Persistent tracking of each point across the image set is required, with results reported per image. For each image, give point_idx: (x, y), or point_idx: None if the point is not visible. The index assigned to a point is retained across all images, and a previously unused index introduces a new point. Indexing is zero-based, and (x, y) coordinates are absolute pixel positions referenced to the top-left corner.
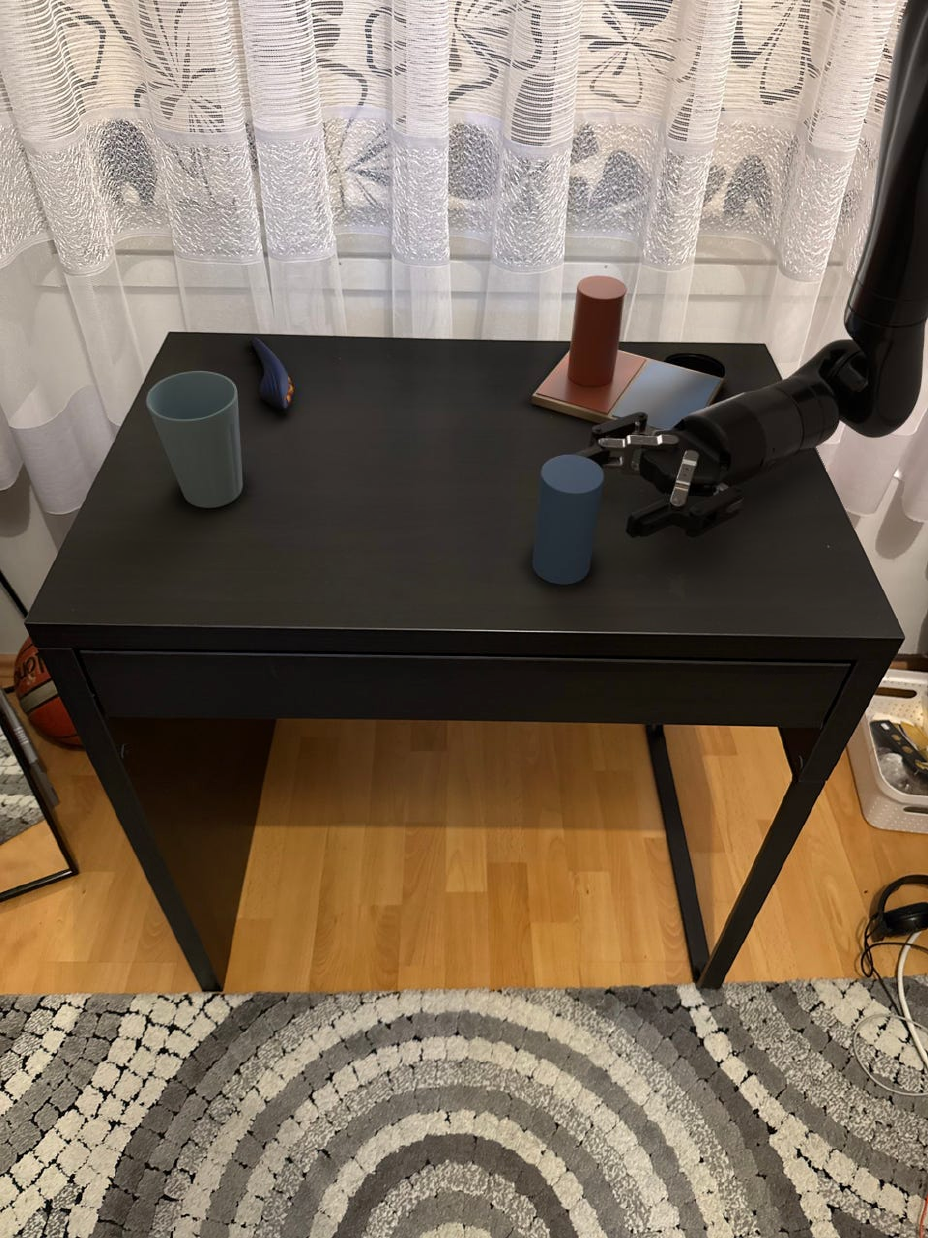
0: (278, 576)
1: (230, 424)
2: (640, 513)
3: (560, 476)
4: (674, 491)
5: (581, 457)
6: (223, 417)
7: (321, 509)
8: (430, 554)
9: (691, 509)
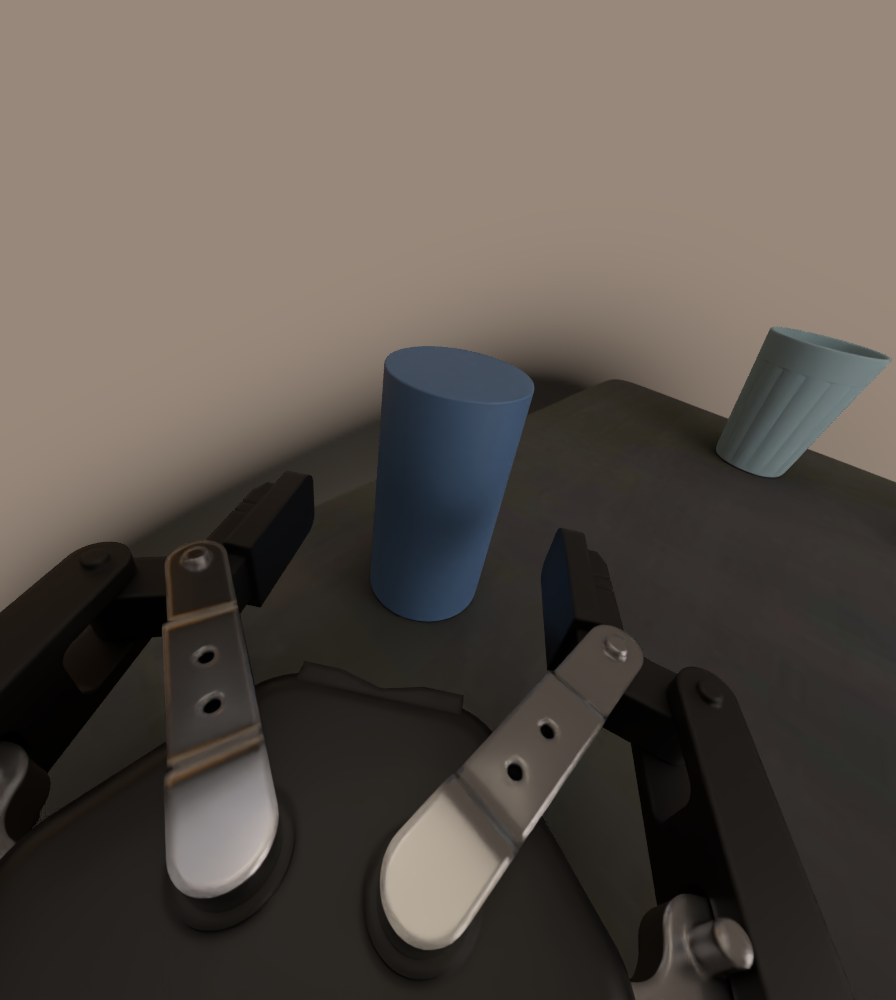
0: (594, 431)
1: (784, 366)
2: (287, 480)
3: (469, 362)
4: (226, 589)
5: (496, 398)
6: (784, 347)
7: (689, 488)
8: (557, 501)
9: (125, 551)
